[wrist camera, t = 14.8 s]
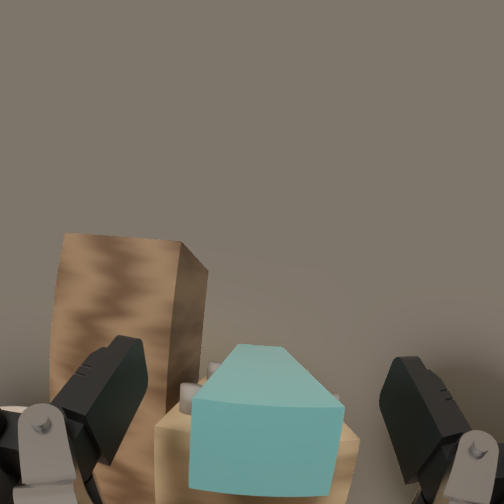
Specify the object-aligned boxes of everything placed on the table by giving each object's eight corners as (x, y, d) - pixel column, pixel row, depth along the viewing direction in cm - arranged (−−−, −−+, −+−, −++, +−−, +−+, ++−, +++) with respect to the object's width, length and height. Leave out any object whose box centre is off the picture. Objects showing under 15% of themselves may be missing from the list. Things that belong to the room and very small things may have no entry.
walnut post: (192, 521, 25) (208, 270, 32) (171, 580, 13) (181, 241, 20) (117, 502, 25) (123, 262, 32) (77, 548, 13) (65, 232, 20)
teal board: (279, 378, 26) (282, 347, 26) (328, 495, 6) (345, 407, 7) (235, 375, 26) (238, 343, 26) (188, 487, 6) (192, 397, 7)
